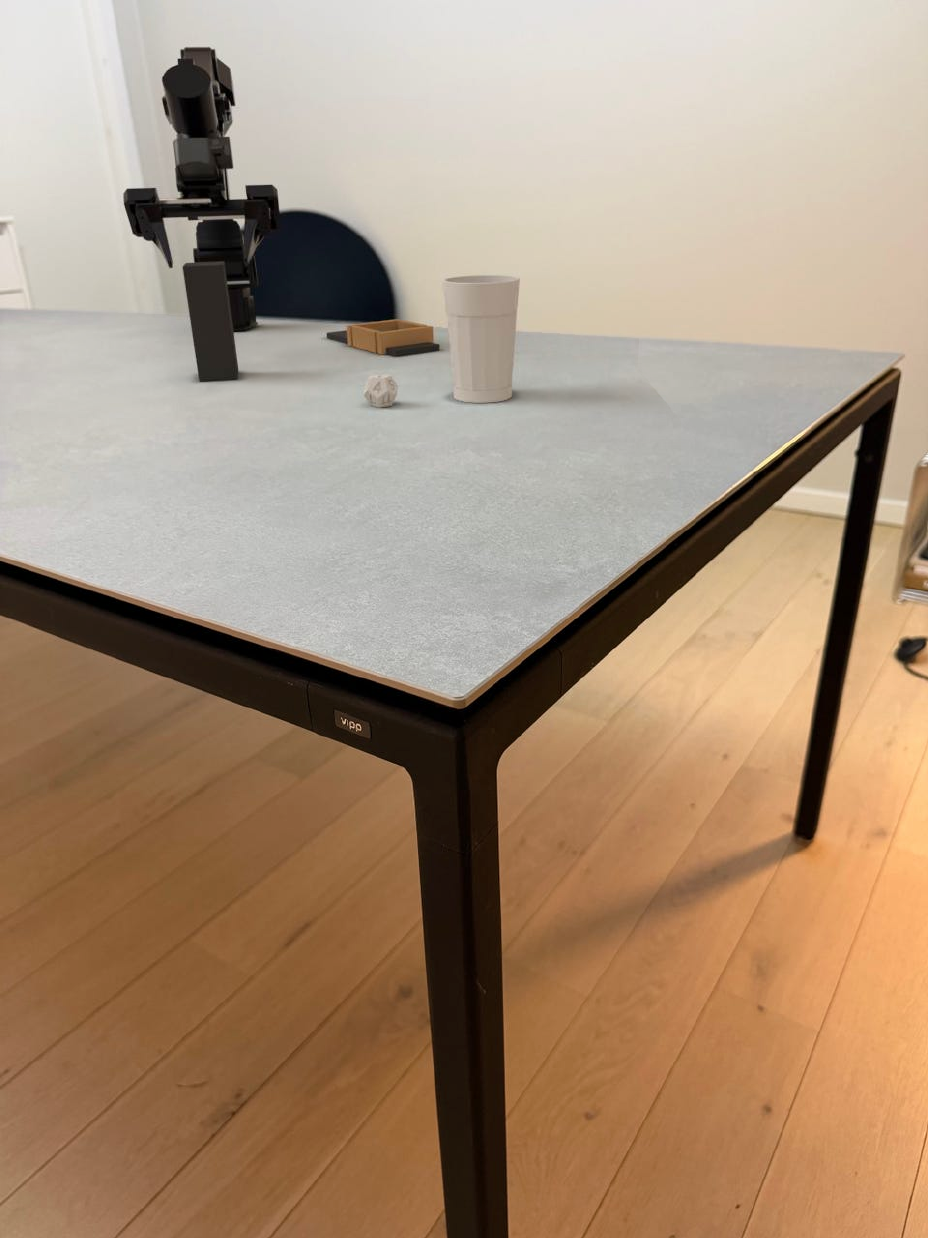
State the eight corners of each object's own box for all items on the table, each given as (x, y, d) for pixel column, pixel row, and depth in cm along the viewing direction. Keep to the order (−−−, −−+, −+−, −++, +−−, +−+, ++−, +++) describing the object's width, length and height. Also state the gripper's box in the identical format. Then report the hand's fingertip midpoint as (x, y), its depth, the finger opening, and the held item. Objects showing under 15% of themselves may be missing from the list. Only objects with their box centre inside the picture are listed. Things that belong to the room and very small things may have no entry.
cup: (446, 388, 103) (443, 275, 98) (517, 387, 103) (518, 273, 98) (445, 405, 96) (441, 284, 91) (521, 403, 96) (521, 282, 91)
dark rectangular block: (201, 374, 114) (185, 262, 109) (238, 372, 115) (224, 261, 109) (199, 381, 110) (182, 266, 105) (237, 379, 111) (222, 264, 105)
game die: (401, 401, 98) (400, 372, 97) (394, 409, 95) (392, 379, 94) (369, 400, 99) (367, 372, 98) (361, 408, 96) (359, 379, 94)
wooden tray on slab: (322, 338, 137) (320, 319, 135) (371, 332, 141) (370, 313, 140) (390, 357, 122) (389, 335, 121) (444, 349, 126) (443, 328, 125)
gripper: (110, 113, 110) (114, 218, 105) (269, 111, 113) (280, 212, 108) (131, 186, 120) (135, 284, 115) (276, 182, 123) (286, 277, 118)
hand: (208, 263), depth 114 cm, fingers open, 9 cm apart
